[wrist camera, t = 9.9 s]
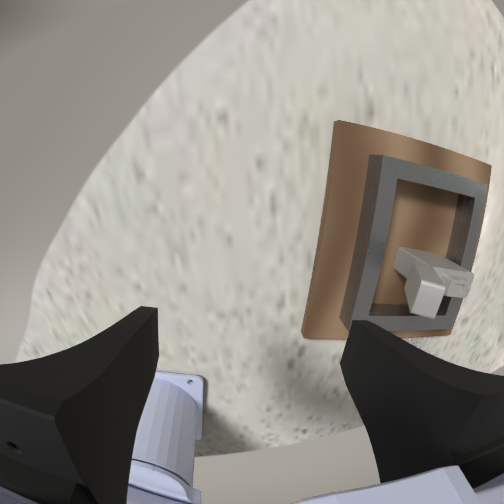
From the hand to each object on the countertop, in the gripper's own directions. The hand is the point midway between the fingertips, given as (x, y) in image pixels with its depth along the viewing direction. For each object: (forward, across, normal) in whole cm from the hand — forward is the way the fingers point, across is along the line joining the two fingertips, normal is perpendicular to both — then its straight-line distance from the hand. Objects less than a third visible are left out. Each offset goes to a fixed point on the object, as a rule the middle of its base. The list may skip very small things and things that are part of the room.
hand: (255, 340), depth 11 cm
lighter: (+10, -11, -1) cm, 15 cm away
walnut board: (+10, -12, -2) cm, 16 cm away
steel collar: (+9, -12, -2) cm, 15 cm away
